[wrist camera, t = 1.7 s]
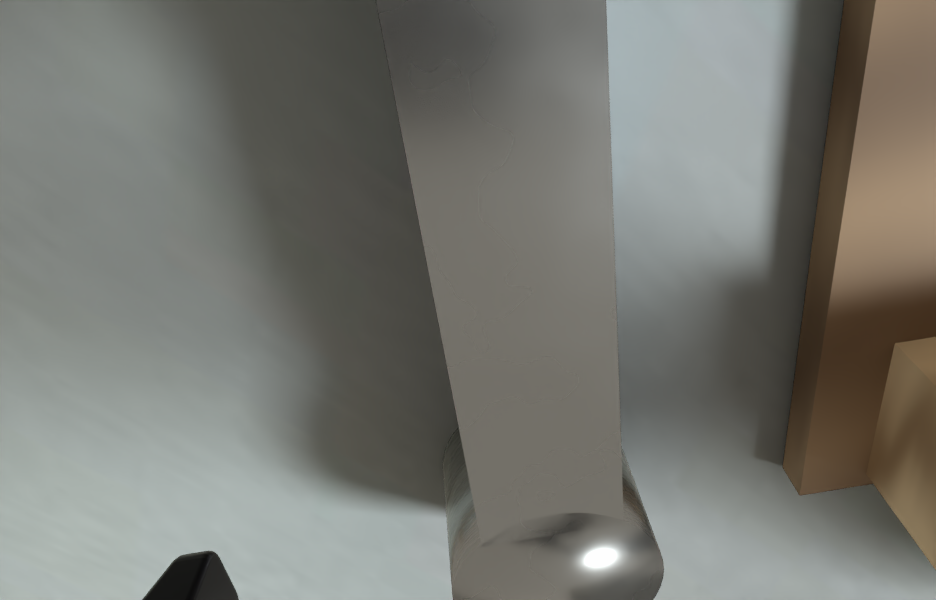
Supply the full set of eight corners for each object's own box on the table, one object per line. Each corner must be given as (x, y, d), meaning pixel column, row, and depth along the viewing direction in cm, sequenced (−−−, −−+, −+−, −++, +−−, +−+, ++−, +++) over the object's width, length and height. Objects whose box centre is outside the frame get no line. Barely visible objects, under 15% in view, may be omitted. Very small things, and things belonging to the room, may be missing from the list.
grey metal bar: (621, 507, 25) (663, 632, 21) (456, 533, 25) (468, 663, 21) (578, -702, 11) (680, -989, 7) (199, -637, 11) (93, -887, 7)
